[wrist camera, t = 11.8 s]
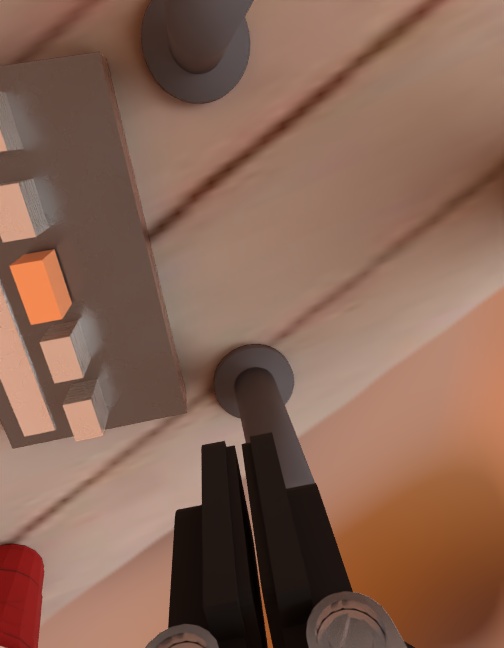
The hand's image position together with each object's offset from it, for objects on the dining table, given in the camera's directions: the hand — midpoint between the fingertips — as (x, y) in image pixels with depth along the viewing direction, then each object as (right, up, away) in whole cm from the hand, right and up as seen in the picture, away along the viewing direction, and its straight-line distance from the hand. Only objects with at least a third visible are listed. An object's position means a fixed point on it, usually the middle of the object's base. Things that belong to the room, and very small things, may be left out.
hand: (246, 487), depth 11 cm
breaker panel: (-14, +8, +24) cm, 29 cm away
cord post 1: (-4, +22, +20) cm, 30 cm away
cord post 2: (0, -1, +30) cm, 30 cm away
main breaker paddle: (-14, +7, +21) cm, 26 cm away
